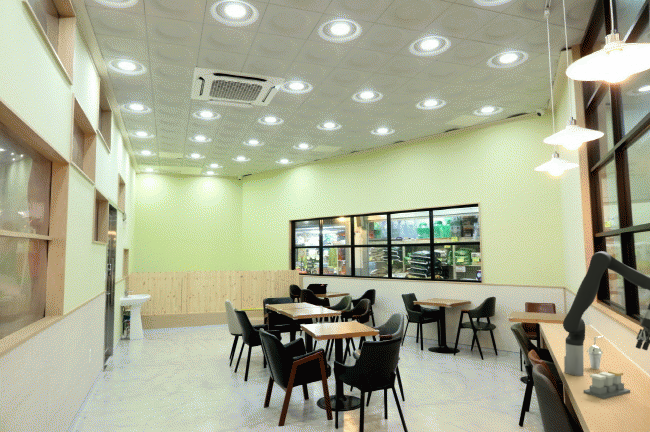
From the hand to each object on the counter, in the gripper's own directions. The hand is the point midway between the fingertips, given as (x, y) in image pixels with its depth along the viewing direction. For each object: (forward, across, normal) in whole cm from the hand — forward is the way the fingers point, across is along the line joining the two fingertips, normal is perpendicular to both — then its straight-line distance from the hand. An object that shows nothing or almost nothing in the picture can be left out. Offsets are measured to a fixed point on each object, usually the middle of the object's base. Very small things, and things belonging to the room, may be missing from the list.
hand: (641, 348), depth 228 cm
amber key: (+22, -1, -5) cm, 22 cm away
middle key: (+25, +5, -10) cm, 27 cm away
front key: (+27, +10, -15) cm, 33 cm away
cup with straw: (+19, -45, -3) cm, 49 cm away
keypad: (+28, +4, -8) cm, 29 cm away
